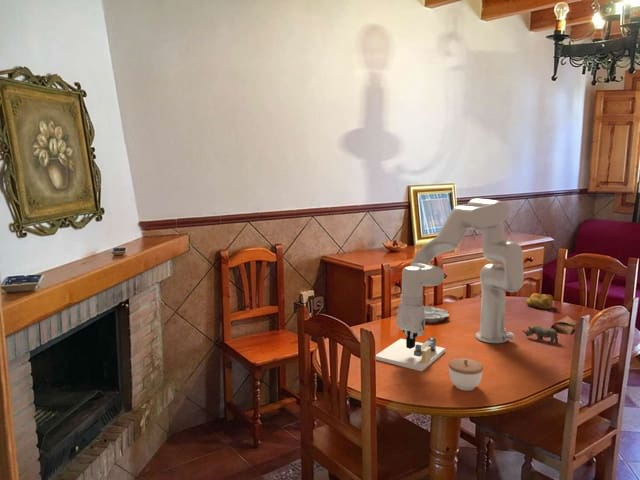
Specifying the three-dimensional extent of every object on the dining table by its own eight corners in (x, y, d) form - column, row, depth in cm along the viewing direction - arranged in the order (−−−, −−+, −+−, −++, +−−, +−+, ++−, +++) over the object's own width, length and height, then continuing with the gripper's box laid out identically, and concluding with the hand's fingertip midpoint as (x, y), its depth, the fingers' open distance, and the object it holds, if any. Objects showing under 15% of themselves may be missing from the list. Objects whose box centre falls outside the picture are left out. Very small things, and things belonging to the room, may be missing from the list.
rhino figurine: (523, 335, 214) (524, 322, 213) (558, 342, 206) (559, 328, 205) (521, 338, 211) (522, 324, 210) (556, 345, 203) (557, 331, 202)
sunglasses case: (571, 335, 213) (563, 320, 214) (555, 340, 218) (548, 325, 219) (584, 325, 226) (577, 311, 227) (569, 329, 231) (562, 316, 232)
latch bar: (429, 347, 196) (429, 332, 195) (436, 349, 194) (437, 334, 193) (412, 361, 183) (413, 345, 182) (420, 363, 181) (421, 347, 180)
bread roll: (523, 306, 255) (524, 291, 253) (529, 302, 262) (530, 287, 261) (550, 311, 246) (551, 295, 245) (556, 307, 254) (557, 291, 252)
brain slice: (450, 326, 227) (450, 319, 226) (411, 323, 230) (412, 317, 230) (448, 313, 246) (448, 307, 245) (412, 311, 249) (413, 305, 249)
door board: (445, 351, 196) (445, 337, 195) (422, 371, 178) (422, 355, 177) (400, 341, 207) (401, 328, 206) (374, 359, 189) (375, 344, 188)
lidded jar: (476, 396, 159) (478, 368, 158) (443, 388, 165) (444, 361, 163) (485, 384, 168) (486, 357, 167) (453, 376, 174) (454, 351, 172)
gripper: (389, 297, 188) (388, 344, 191) (422, 306, 177) (420, 355, 180) (402, 294, 193) (401, 339, 196) (434, 302, 182) (433, 350, 185)
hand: (410, 347), depth 188 cm, fingers closed
